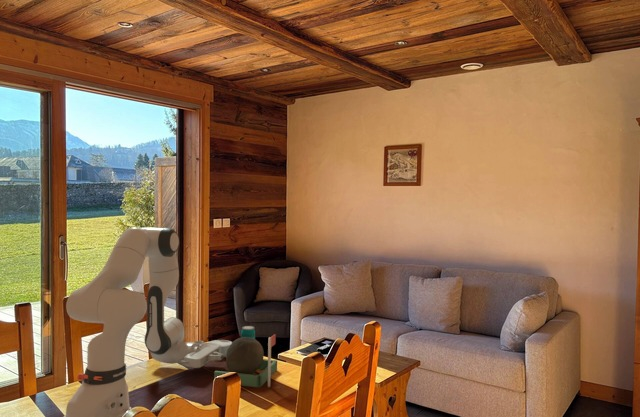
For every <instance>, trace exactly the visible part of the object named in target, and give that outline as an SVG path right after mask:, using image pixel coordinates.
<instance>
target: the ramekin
mask: <svg viewBox="0 0 640 417" xmlns="http://www.w3.org/2000/svg"><path fill="white" fill-rule="evenodd" d="M232 342H233V341H231V340H226V339H217V340H216V339H215V340H211V341H208V342H207V343H214V344H219V345H221V354H224V358H226V355H227V350H228V348H229V346H230V345H231V343H232Z"/></svg>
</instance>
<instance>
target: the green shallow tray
mask: <svg viewBox="0 0 640 417" xmlns="http://www.w3.org/2000/svg"><path fill="white" fill-rule="evenodd" d="M275 345H276V334H273V335H271V337H270V336H269V337H268V343H267V346H268V347H267V348H268V349H267V359H265V358H263V361H262V363H261V365H260V367H259V368H258V369H260V370H259V371H261V372H260V373H259V374H252V375H251V374H242V373H238V375H239V376H240V378H241V381H242V385H241V386H243V387H251V388H261V387H262V386H264V384H266V382H267V388H271V377H272V376H273V375H274V374H275V373H276V372H277V371H278V360H276V359H275V360H274V359H272V347H273V346H275ZM228 372H229V371H223V370H221V371H220V370H215V371H214V372H213V373H214V376H213V377H214V378H215V377H217V376H219V375H222V374H225V373H228ZM214 378H213V379H214Z"/></svg>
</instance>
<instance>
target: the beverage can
mask: <svg viewBox="0 0 640 417" xmlns="http://www.w3.org/2000/svg"><path fill="white" fill-rule="evenodd" d="M241 328H242V329H241V330H240V334H241V336H240V338H241V337H249V338H253V339H255V340H256V330H255V326H253V325H244V326H242V327H241Z"/></svg>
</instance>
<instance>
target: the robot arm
mask: <svg viewBox="0 0 640 417" xmlns="http://www.w3.org/2000/svg"><path fill="white" fill-rule="evenodd" d="M179 246H180V237H179V234H178V233H177V231H176V230H175V229H173V228H170V227H150V226H143V227H135V226H134V227H133V226H132V227H129V228H126V229H125V230H124V231H123V232H122V234H121V235H120V236H119V238H118V239H117V240H116V243H115V245H114V246H113V248H112V250H111V253H110V255H109V256H108V259H107V261H106V263H105V265H104V266H103V267H102V269H101V271H100V272H99V273H98V274H97V275H96V276H95V277H94V278H93V279H91V280H90V281H89V282H88V283H86V284H85V285H84V286H82V287H80V288H78V289H77V288H76V289H75V290H73V291H72V292H71V293H70V295H69V296H68V298H67V300H66V302H65V303H66V304H65V306H66V308H65V309H66V312H67V316H69V318H71V319H72V320H75V321H79V322H82V323H83V322H84V323H92V324H103V330H102V332H101V333H99V334H98V335H95V336H94V337H93V338H92V339H90V341H89V342H88V345H87V347H86V348H87V353H86V354H87V355H86V356H87V360H86V364H87V365H86V367H85V370H84V373H82V372H79V373H78V374H77V376H76V379H77V381H82V383H81V385H79V387H78V389H77V390H76V391H75V392H74V394H73V395H72V397H71V398H70V399H69V401H68V402H67V405H66V408H65V414H64V416H63V417H122V415H123V414H124V413H125V412H126V411H127V410H129V409H131V408H132V407H131V406H130V396H129V386H128V383H127V382H126V376H127V364H126V362H125V356H126V344H127V339H128V337H129V336H128V335H129V334H130V331H131V330H132V329H133V327H135V325H136V324H138V323H139V322H141V320H143V319H144V317H145V315H146V332H145V335H144V345H145V347H146V349H147V351H149V352H150V355H151V358H152V359H153V360H154V361H157V362H159V363H164V364H171V365H173V364H178V365H180V366H185V367H188V368H193V369H200V368H201V367H202V368H203V366H204V365H206V364H208V363H210V362H215V361H221V360H223V359H224V358H225V357H224V354H221V345H219V344H214V343H208V342H204V340H198V341H194V342H193V341H184V340H185V336H186V335H185V334H186V327H185V325H184V323H183V321H182V320H181V319H179V318H177V317H169V318H167V319H166V320H165V305H166V301H167V300H168V298H169V296H170V295H171V293H172V292H173V291H174V290H175V289H176V287H177V285H178V284H179V279H180V278H179V277H180V271H179V262H178V257H177V251H178V250H179ZM146 257H147V258H148V272H149V273H148V274H149V283H148V284H149V285H148V286H149V287H148V292H147V297H145V296H144V294H143V293H142V292H138V291H135V290H132V289H126V288H127V287H129V286H131V285H132V284H134V283H135V282H136V280H137V279H138V278H139V275H140V272H141V270H142V267H143V265H144V262H145V260H146ZM124 288H125V289H124ZM146 298H147V299H146Z"/></svg>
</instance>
